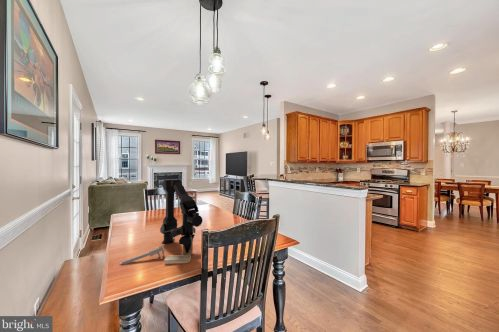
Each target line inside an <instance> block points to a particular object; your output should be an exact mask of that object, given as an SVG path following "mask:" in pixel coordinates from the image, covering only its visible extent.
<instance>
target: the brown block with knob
mask: <svg viewBox="0 0 499 332" xmlns="http://www.w3.org/2000/svg"><path fill="white" fill-rule="evenodd" d="M193 249H194V247H193V242H192V244H191V247H190V249H189V252H188V253H186V251H185V247H184V244H182V255H191V256H192V254H193Z"/></svg>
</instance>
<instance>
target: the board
mask: <svg viewBox="0 0 499 332" xmlns="http://www.w3.org/2000/svg"><path fill="white" fill-rule="evenodd" d="M191 256H192V255H183V254H178V255H166V257H165V258H164V265H169V264H171V265H173V264H187V263H190V261H191Z"/></svg>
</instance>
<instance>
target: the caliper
mask: <svg viewBox="0 0 499 332" xmlns="http://www.w3.org/2000/svg"><path fill="white" fill-rule="evenodd" d="M160 252H161V253H160ZM156 254H157V256H158V257H159V258H161V254H162V256H163V257H164V256H165V249H164V246H162V245H158V247H156V248H154V249H152V250H149V251H147V252H145V253H142V254H140V255H136V256H135V257H132V258H131V257H130V258H129V259H125V260H123V261H122V262H120V263H119V264H118V265H119V266H121V265H127V264H130V263H133V262H135V261H138V260H141V259H143V258H147V257H153V256H155V255H156Z"/></svg>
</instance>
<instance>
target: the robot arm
mask: <svg viewBox="0 0 499 332" xmlns="http://www.w3.org/2000/svg"><path fill="white" fill-rule="evenodd" d="M161 186H162V190H163V191H164V193H165V217H164V218H163V220H162V224H161V227H160V228H159V230H160V231H159V233H160V234H162V235H163V241H162V242H161V244H173V243H174V242H175V238H176V237H178V236H181V237H180V238H179V240H178V245H183V244H184V247H185V251H186V253H188V252H189V249H190V247H191V244H192V242H193V241H194V238H195V234H196V232H197V231H196V228H198V227H200V226H201V225H202V224H203V217H202V216H201V215H200V213H199V211H200V210H199V207H198V204H197V203H196V200H195V199H194V198H193V196H191V195H190V194H188V192H187V191H186V189H185V187H184V185H183V183H182V180H181V179H179V178H167V179H164V180H163V181H162V184H161ZM175 193H176V195H177V197H178V199H179V208H180V209H181V212H180V213H181V214H182V224H181V226H178V220H177V218H176V217H175ZM195 227H196V228H195Z"/></svg>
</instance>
